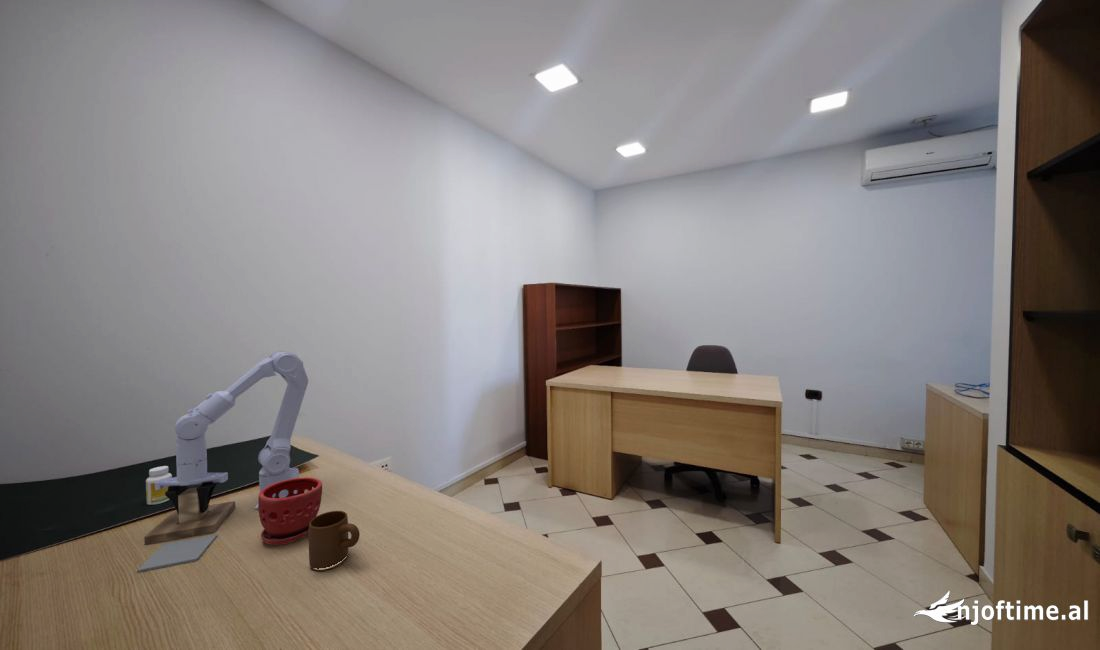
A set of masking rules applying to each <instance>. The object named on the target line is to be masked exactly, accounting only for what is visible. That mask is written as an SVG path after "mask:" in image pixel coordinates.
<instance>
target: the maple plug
mask: <svg viewBox="0 0 1100 650" xmlns="http://www.w3.org/2000/svg"><path fill="white" fill-rule="evenodd" d="M197 488H198V487H191V488H188V489H187V490H186V491H184V492H183V493H181V494H180V495H178V505H179V524H182V523H188V522H194V521H200V520H202V519H203V518H204V517H205V516H206V515H207V510H206V511H205V512H203V513H200V501H199V496H198V493H197V490H196V489H197Z"/></svg>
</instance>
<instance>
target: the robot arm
mask: <svg viewBox="0 0 1100 650" xmlns="http://www.w3.org/2000/svg"><path fill="white" fill-rule="evenodd" d="M276 373H277V374H278V375H280V377H282V379H283V380H284V381H285V383H286V384H287V386H286V389H285V391H284V393H283V394H284V395H283V398H282V400H281V404H280V407H279V411H278V414H277V416H276V419H275V421H274V425H273V429H272V432H271V435H270V437H269V438H268V439H267V441H266V444H265V446H264V447H263V448H262V450H260V452H259V453H258V456H257V457H258V458H257V460H258V462H259V464H260V465H261V466H262V467H261V469H260V470H259V472H258V479H259V482H258V484H259V493H260V492H261V490H263V489H264V488H266V487H268V486H270V485H272V484H274V483H277V482H281V481H284V480H288V479H294V478H300V470H299V468H298V467H290V464H291V456H290V452H291V439H292V436H293V431H294V429H295V425H296V423H297V419H298V416H299V412H300V409H301V406H302V403H303V400H304V397H305V393H306V390H307V387H308V385H309V378H308V374H307V372H306V369H305V367H304V362H303V361H302V360H301V359H300V358H299V357H298V355H296V354H295V353H292V352H289V351H285V350H277V351H275V352H272V353H271V354H270V355H269V357H265V358H264V359H262V360H261V361H259V362H258V363H257V364H255V365H254V366H253V367H251V369H249V370H248V371H247V372H246V373H245V374H244V375H242V376H241V377H240V378H239V379H237V380H236V381H235V382H234V383H233V384H232V385H230V386H229V387H228V388H226V390H219V391H215V392H214V393H209V394H207V395H206V396H205V398H206V399H205V400H203V401H202V402H201V403H200V404H198V405H197V406H196V407H194V408H190V409H188V410H187V413H188V414H183V416H180V417H179V418H178V419H177V420H176V423H175V425H174V426H173V427H174V430H175V433H176V436H177V437H176V439H175V440H176V446H175V453H176V454H175V456H176V458H175V459H176V462H175V463H176V476H174V477H173V476H172V478H168V479H161V480H159V481H157V482H155V490H160V489H162V488H168V491H166V492H165V496H167V497H168V498H169V499H170V500H169V501H171V503H172V504H173V506H174V508H175V510H177V513H178V515H179V505H178V495H180V494H181V493H183V492H184V491H186V490H187V489H189V486H194V485H200V486H198V487H196V488H197V489H196V490H197V493H198V496H199V501H200V513H203V512H205V511H206V510H207V509H208V506H209V505H210V501H211V499H212V498H211V497H212V496H213V493H214V491H215V489H216V488H217V485H218V484H219V483H226V482H227V481H228V480H229V473H228V471H227V472H208V456H207V455H208V454H207V441H206V434H205V433H206V432H207V430H208V426H209V425H211V424H213V423H215V422H216V421H218V420H219V419H220V418H221V417H222V416H223V415H224V414H226V413H227V412H229V411H230V410H231V409H232V408H233V407H235V406H236V399H237V398H238V397H239V396H241V395H242V394H243V393H245V392H246V391H248V390H249V389H250V388H251V387H253V386H254V385H256V384H257V383H258V382H260V381H261V380H262V379H265V378H269V377H276V376H277V374H276ZM297 492H298V491H297V490H294V493H295V494H296V493H297ZM287 495H288V491H287V490H282V491H281V492H280V493H279V497H280V498H284V497H286V496H287ZM275 496H276V494H273V496H272V497H273V498H274V497H275ZM253 509H254V510H258V502H257V503H256V505H255V506H254V508H253Z"/></svg>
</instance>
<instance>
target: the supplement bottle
mask: <svg viewBox="0 0 1100 650" xmlns="http://www.w3.org/2000/svg"><path fill="white" fill-rule="evenodd" d="M169 469H170V468H169V466H168V465H163V466H157V467H153V468H150V469H149V471H148V476H149V477H147V478H146V479H145V493H146V494H145V496H146V497H145V498H146V505H151V506H152V505H159V504H162V503H163V504H164V503H166V502H167V501H168V502H169V501H171V500H170V499H169V498H168V497H167V496H165V492H166V491H168V488H162V489H160V490H155V482H157V481H159V480H161V479H168V478H173V474H171V472H169Z"/></svg>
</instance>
